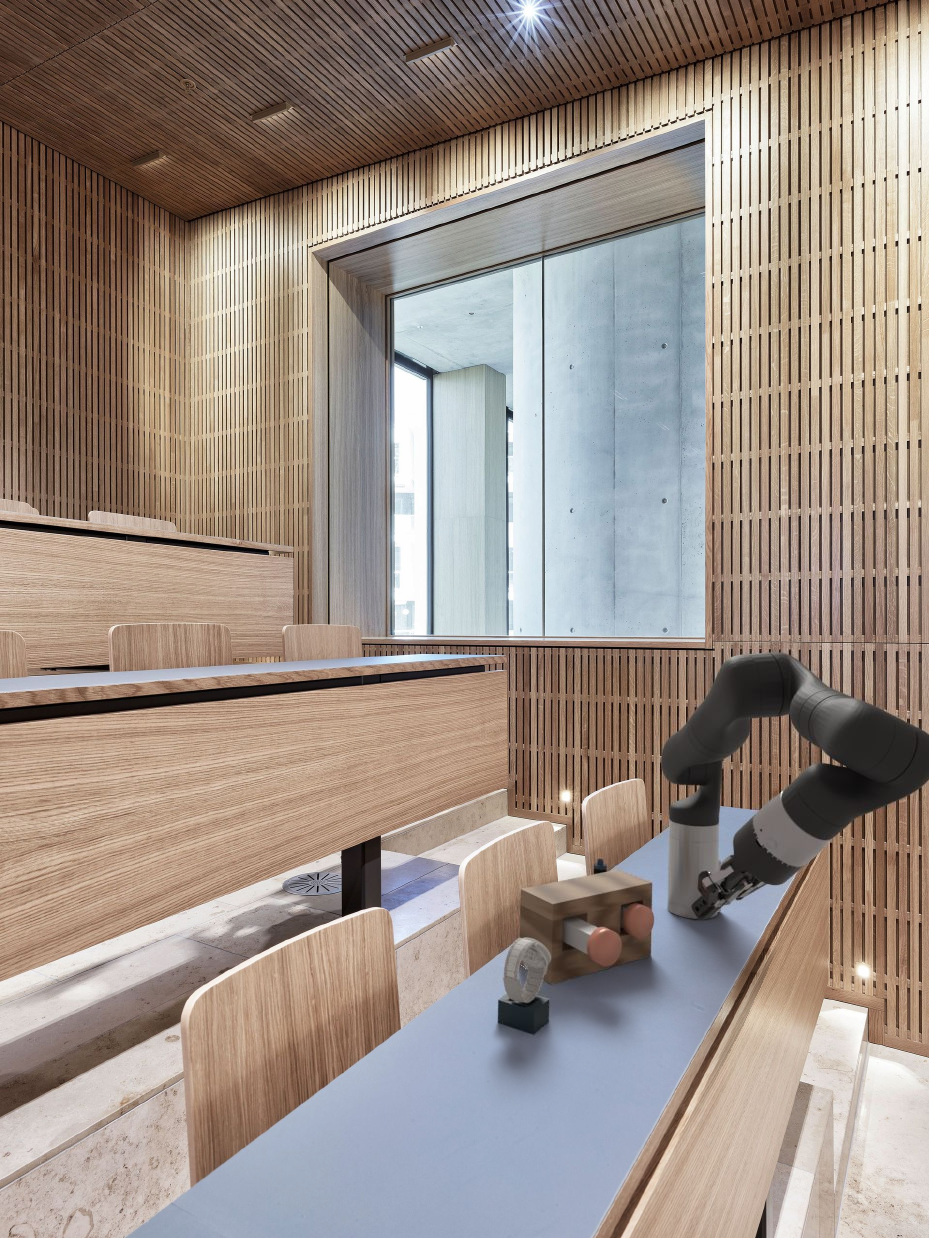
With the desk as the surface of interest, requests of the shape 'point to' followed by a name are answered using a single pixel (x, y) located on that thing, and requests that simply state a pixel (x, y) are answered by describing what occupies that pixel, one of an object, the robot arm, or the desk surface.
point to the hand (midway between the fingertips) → (698, 912)
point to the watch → (525, 987)
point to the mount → (583, 918)
